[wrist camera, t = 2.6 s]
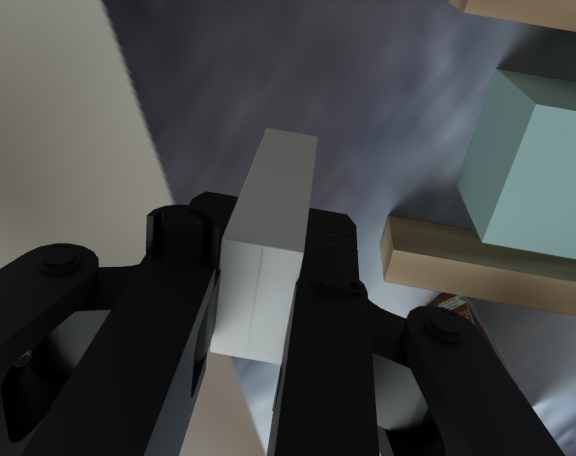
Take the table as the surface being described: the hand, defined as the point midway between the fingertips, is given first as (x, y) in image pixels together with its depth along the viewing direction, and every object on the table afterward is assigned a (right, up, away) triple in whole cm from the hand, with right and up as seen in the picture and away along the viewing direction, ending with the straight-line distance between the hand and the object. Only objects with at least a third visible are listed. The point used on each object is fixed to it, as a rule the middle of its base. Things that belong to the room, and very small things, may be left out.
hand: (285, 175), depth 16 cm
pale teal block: (+10, +2, +6) cm, 12 cm away
